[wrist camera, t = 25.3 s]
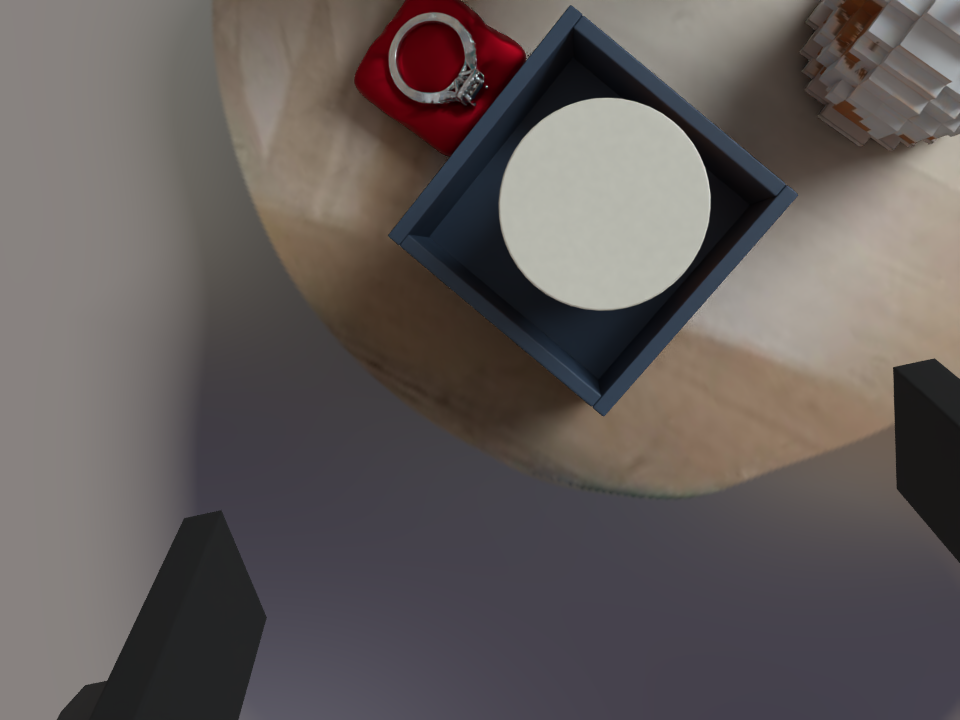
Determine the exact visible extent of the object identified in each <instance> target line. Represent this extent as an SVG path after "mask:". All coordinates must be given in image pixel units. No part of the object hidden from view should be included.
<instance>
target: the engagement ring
mask: <svg viewBox="0 0 960 720" xmlns="http://www.w3.org/2000/svg"><path fill="white" fill-rule="evenodd" d="M525 62H526V54H525V51H524V50H523V48H522V47H521V46H520V45H519V44H518V43H517V42H515V41H514V40H512V39H511V38H509V37H508V36H506V35H504V34H502V33H500V32H498V31H496V30H494V29H493V28H491V27H489V26H487V25H485V23H484V22H483V20H482V19H481V18H480V17H479V16H478V15H477V14H476V13H475V12H474V11H473V10H471V9H470V8H469V7H468V6H467V5H466V4H464V3H463V2H462V1H460V0H405V2H404V3H403V5H402V6H401V8H400V9H399V11H398V12H397V13H396V15H395V16H394V18H393V19H392V21H391V22H389V23H388V25H387V26H386V27H385V29H384V30H383V32H382V34H381V35H380V36H379V37H378V38H377V39H376V40H375V41H374V42H373V44H372V45H371V46H370V48H369V49H368V51H367V53H366V54H365V56H364V58H363V60H362V61H361V63H360V65H359V67H358V69H357V71H356V73H355V77H354V83H355V86H356V88H357V89H358V91H359V92H360V93H361V94H362V95H363V96H364V97H365V98H366V99H367V100H369V101H370V102H371V103H373V104H374V105H375V106H377V107H378V108H379V109H381V110H382V111H383V112H384V113H386V114H387V115H388V116H390V117H392V118H393V119H395V120H396V121H398V122H399V123H401V124H402V125H404V126H405V127H407V128H408V129H409V130H411V131H412V132H414V133H415V134H416V135H418V136H419V137H420V138H422V139H423V140H424V141H426V142H427V143H428V144H430V145H431V146H432V147H434V148H435V149H436V150H437V151H439V152H440V153H442V154H444V155H446V156H451V155H452V154H453V153H454V151H455V150H456V149H457V148H458V146H459V145H460V144H461V143H462V141H463V140H464V139H465V138H466V136H467V135H468V134H469V132H470V131H471V130H472V129H473V127H474V126H475V125H476V124H477V122H478V121H479V120H480V119H481V117H482V116H483V115H484V114H485V112H486V111H487V110H488V108H489V107H490V106H491V105H492V103H493V102H494V101H495V100H496V98H497V97H498V96H499V95H500V93H501V92H502V91H503V89H504V88H505V87H506V86H507V84H508V83H509V82H510V81H511V79H512V78H513V77H514V76H515V74H516V73H517V72H518V71H519V69H520V68H521V67H522V65H523V64H524V63H525Z"/></svg>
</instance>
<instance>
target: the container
mask: <svg viewBox="0 0 960 720" xmlns="http://www.w3.org/2000/svg"><path fill="white" fill-rule="evenodd" d="M709 216H710V188H709V180H708V177H707V173H706V169H705V166H704V164H703V162H702V159H701V157H700V155H699V153H698V151H697V149H696V148H695V146H694V144H693V143H692V141H691V140H690V139H689V138H688V136H687V135H686V134H685V133H684V131H683V130H682V129H681V128H680V127H679V126H677V125H676V124H675V123H674V122H673V121H672V120H671V119H669V118H668V117H666V116H665V115H664V114H662V113H660V112H659V111H657V110H655V109H653V108H651V107H649V106H646V105H643V104H641V103H638V102H635V101H630V100H625V99H618V98H594V99H589V100H583V101H579V102H576V103H573V104H570V105H567V106H565V107H563V108H561V109H559V110H557V111H555V112H553V113H551V114H550V115H548V116H547V117H545V118H544V119H542V120H541V121H540V122H539V123H538V124H536V125H535V126H534V127H533V128H532V129H531V130H530V131H529V132H528V133H527V134H526V135H525V136H524V138H523V139H522V140H521V142H520V143H519V144H518V146H517V147H516V149H515V150H514V152H513V154H512V156H511V158H510V160H509V161H508V164H507V166H506V169H505V172H504V175H503V178H502V182H501V187H500V194H499V220H500V226H501V231H502V235H503V238H504V241H505V244H506V247H507V249H508V251H509V253H510V256H511V257H512V259H513V260H514V262H515V264H516V265H517V267H518V268H519V269H520V271H521V272H522V273H523V274H524V276H525V277H526V278H527V279H528V280H529V281H530V282H531V283H532V284H533V285H534V286H535V287H537V288H538V289H539V290H541V291H542V292H544V293H545V294H546V295H548V296H550V297H552V298H554V299H555V300H557V301H559V302H562V303H564V304H567V305H570V306H573V307H577V308H581V309H587V310H596V311H605V310H617V309H623V308H628V307H631V306H635V305H638V304H641V303H643V302H645V301H647V300H650V299H652V298H653V297H655V296H657V295H658V294H660V293H662V292H663V291H665V290H666V289H667V288H668V287H670V286H671V285H672V284H674V283H675V282H676V281H677V280H678V279H679V278H680V277H681V276H682V275H683V274H684V272H685V271H686V270H687V268H688V267H689V266H690V264H691V263H692V262H693V260H694V258H695V257H696V255H697V253H698V251H699V250H700V247H701V245H702V242H703V240H704V238H705V234H706V231H707V227H708V223H709Z"/></svg>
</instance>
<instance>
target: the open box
mask: <svg viewBox="0 0 960 720" xmlns="http://www.w3.org/2000/svg"><path fill="white" fill-rule="evenodd" d="M594 98H618V99H625V100H630V101H635V102H638V103H641V104H643V105H646V106H649V107H651V108H653V109H655V110H657V111H659V112H660V113H662V114H664V115H665V116H666V117H668V118H669V119H671V120H672V121H673V122H674V123H675V124H676V125H677V126H679V127H680V128H681V129H682V130H683V131H684V133H685V134H686V135H687V136H688V138H689V139H690V140H691V141H692V143H693V144H694V146H695V148H696V149H697V151H698V153H699V155H700V157H701V159H702V162H703V164H704V166H705V169H706V173H707V177H708V180H709V188H710V216H709V223H708V227H707V231H706V234H705V238H704V240H703V242H702V245H701V247H700V250H699V251H698V253H697V255H696V257H695V258H694V260H693V262H692V263H691V264H690V266H689V267H688V268H687V270H686V271H685V272H684V274H683V275H682V276H681V277H680V278H679V279H678V280H677V281H676V282H675V283H674V284H672V285H671V286H670V287H668V288H667V289H666V290H665V291H663V292H662V293H660V294H658V295H657V296H655V297H653V298H652V299H650V300H647V301H645V302H643V303H641V304H638V305H635V306H631V307H628V308H623V309H617V310H605V311H596V310H587V309H581V308H577V307H573V306H570V305H567V304H564V303H562V302H559V301H557V300H555V299H554V298H552V297H550V296H548V295H546V294H545V293H544V292H542V291H541V290H539V289H538V288H537V287H535V286H534V285H533V284H532V283H531V282H530V281H529V280H528V279H527V278H526V277H525V276H524V274H523V273H522V272H521V271H520V269H519V268H518V267H517V265H516V264H515V262H514V260H513V259H512V257H511V256H510V253H509V251H508V249H507V247H506V244H505V241H504V238H503V235H502V231H501V226H500V220H499V194H500V187H501V182H502V178H503V175H504V172H505V169H506V166H507V164H508V161H509V160H510V158H511V156H512V154H513V152H514V150H515V149H516V147H517V146H518V144H519V143H520V142H521V140H522V139H523V138H524V136H525V135H526V134H527V133H528V132H529V131H530V130H531V129H532V128H533V127H534V126H535V125H536V124H538V123H539V122H540V121H541V120H542V119H544V118H545V117H547V116H548V115H550V114H551V113H553V112H555V111H557V110H559V109H561V108H563V107H565V106H567V105H570V104H573V103H576V102H579V101H583V100H589V99H594ZM785 185H786V184H785V183H784V182H783V181H782V180H781V179H779V178H778V177H777V176H776V175H775V174H773V173H772V172H771V171H770V170H769V169H767V168H766V167H765V166H764V165H763V164H761V163H760V162H759V161H758V160H757V159H755V158H754V157H753V156H752V155H751V154H749V153H748V152H747V151H746V150H745V149H743V148H742V147H741V146H740V145H739V144H737V143H736V142H735V141H734V140H732V139H731V138H730V137H729V136H728V135H726V134H725V133H724V132H723V131H722V130H720V129H719V128H718V127H717V126H716V125H714V124H713V123H712V122H711V121H710V120H708V119H707V118H706V117H705V116H704V115H702V114H701V113H700V112H699V111H698V110H696V109H695V108H694V107H693V106H692V105H690V104H689V103H688V102H687V101H686V100H684V99H683V98H682V97H681V96H680V95H678V94H677V93H676V92H675V91H674V90H672V89H671V88H670V87H669V86H668V85H666V84H665V83H664V82H663V81H662V80H660V79H659V78H658V77H657V76H656V75H654V74H653V73H652V72H651V71H650V70H648V69H647V68H646V67H645V66H644V65H642V64H641V63H640V62H639V61H638V60H636V59H635V58H634V57H633V56H632V55H630V54H629V53H628V52H627V51H626V50H624V49H623V48H622V47H621V46H620V45H618V44H617V43H616V42H615V41H614V40H612V39H611V38H610V37H609V36H608V35H606V34H605V33H604V32H603V31H602V30H600V29H599V28H598V27H597V26H596V25H594V24H593V23H592V22H591V21H590V20H588V19H587V18H586V17H585V16H582V14H581V13H580V12H579V11H578V10H577V9H575V8H574V7H573V6H572V5H570V6H569V7H568V9H567V10H566V11H565V12H564V14H563V15H562V16H561V17H560V19H559V20H558V21H557V23H556V24H555V25H554V26H553V28H552V29H551V30H550V31H549V33H548V34H547V35H546V36H545V38H544V39H543V40H542V41H541V43H540V44H539V45H538V47H537V48H536V49H535V50H534V52H533V53H532V54H531V55H530V57H529V58H528V59H527V60H526V62H525V63H524V64H523V65H522V67H521V68H520V69H519V71H518V72H517V73H516V74H515V76H514V77H513V78H512V79H511V81H510V82H509V83H508V84H507V86H506V87H505V88H504V89H503V91H502V92H501V93H500V95H499V96H498V97H497V98H496V100H495V101H494V102H493V103H492V105H491V106H490V107H489V108H488V110H487V111H486V112H485V114H484V115H483V116H482V117H481V119H480V120H479V121H478V122H477V124H476V125H475V126H474V127H473V129H472V130H471V131H470V132H469V134H468V135H467V136H466V138H465V139H464V140H463V141H462V143H461V144H460V145H459V146H458V148H457V149H456V150H455V151H454V153H453V154H452V155H451V156H450V158H449V159H448V160H447V162H446V163H445V164H444V165H443V167H442V168H441V169H440V170H439V172H438V173H437V174H436V175H435V177H434V178H433V179H432V180H431V182H430V183H429V184H428V186H427V187H426V188H425V189H424V191H423V192H422V193H421V194H420V196H419V197H418V198H417V199H416V201H415V202H414V203H413V204H412V206H411V207H410V208H409V210H408V211H407V212H406V213H405V215H404V216H403V217H402V218H401V220H400V221H399V222H398V223H397V225H396V226H395V227H394V228H393V230H392V231H391V232H390V234H389V235H388V236H389V237H390V238H391V239H392V240H393V241H394V242H396V243H397V244H398V245H400V246H401V247H402V248H403V249H404V250H405V251H406V252H408V253H409V254H410V255H411V256H412V257H414V258H415V259H416V260H417V261H418V262H420V263H421V264H422V265H423V266H424V267H425V268H427V269H428V270H429V271H430V272H431V273H433V274H434V275H435V276H436V277H437V278H439V279H440V280H441V281H442V282H443V283H445V284H446V285H447V286H448V287H449V288H451V289H452V290H453V291H454V292H455V293H456V294H458V295H459V296H460V297H461V298H462V299H464V300H465V301H466V302H467V303H468V304H470V305H471V306H472V307H473V308H474V309H476V310H477V311H478V312H479V313H480V314H482V315H483V316H484V317H485V318H486V319H487V320H489V321H490V322H491V323H492V324H493V325H495V326H496V327H497V328H498V329H499V330H501V331H502V332H503V333H504V334H505V335H507V336H508V337H509V338H510V339H511V340H512V341H514V342H515V343H516V344H517V345H518V346H520V347H521V348H522V349H523V350H524V351H526V352H527V353H528V354H529V355H530V356H532V357H533V358H534V359H535V360H536V361H538V362H539V363H540V364H541V365H542V366H543V367H545V368H546V369H547V370H548V371H549V372H551V373H552V374H553V375H554V376H555V377H557V378H558V379H559V380H560V381H561V382H563V383H564V384H565V385H566V386H567V387H569V388H570V389H571V390H572V391H573V392H574V393H576V394H577V395H578V396H579V397H580V398H582V399H583V400H584V401H585V402H586V403H588V404H589V405H590V406H593V408H594V409H595V410H596V411H597V412H598V413H599V414H601V415H602V416H605V415H606V414H607V413H608V412H609V410H610V409H611V408H612V407H613V406H614V405H615V404H616V402H617V401H618V400H619V399H620V398H621V397H622V396H623V394H624V393H625V392H626V391H627V390H628V389H629V388H630V386H631V385H632V384H633V383H634V382H635V381H636V380H637V378H638V377H639V376H640V375H641V374H642V373H643V372H644V371H645V369H646V368H647V367H648V366H649V365H650V364H651V363H652V361H653V360H654V359H655V358H656V357H657V356H658V355H659V353H660V352H661V351H662V350H663V349H664V348H665V347H666V345H667V344H668V343H669V342H670V341H671V340H672V339H673V337H674V336H675V335H676V334H677V333H678V332H679V331H680V330H681V328H682V327H683V326H684V325H685V324H686V323H687V322H688V320H689V319H690V318H691V317H692V316H693V315H694V314H695V312H696V311H697V310H698V309H699V308H700V307H701V306H702V304H703V303H704V302H705V301H706V300H707V299H708V298H709V297H710V295H711V294H712V293H713V292H714V291H715V290H716V289H717V287H718V286H719V285H720V284H721V283H722V282H723V281H724V279H725V278H726V277H727V276H728V275H729V274H730V273H731V271H732V270H733V269H734V268H735V267H736V266H737V265H738V263H739V262H740V261H741V260H742V259H743V258H744V257H745V256H746V254H747V253H748V252H749V251H750V250H751V249H752V248H753V246H754V245H755V244H756V243H757V242H758V241H759V240H760V238H761V237H762V236H763V235H764V234H765V233H766V232H767V230H768V229H769V228H770V227H771V226H772V225H773V224H774V222H775V221H776V220H777V219H778V218H779V217H780V216H781V215H782V213H783V212H784V211H785V210H786V209H787V208H788V207H789V205H790V204H791V203H792V202H793V201H794V200H795V199H796V197H797V196H798V194H797V193H796V192H795V191H794V190H793V189H791V188H790V187H789V186H787V185H786V186H785Z"/></svg>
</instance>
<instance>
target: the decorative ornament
mask: <svg viewBox="0 0 960 720" xmlns="http://www.w3.org/2000/svg"><path fill="white" fill-rule="evenodd" d="M805 23H806V24H808V25H809V26H810V27H812V28H813V29H815V32H814V33H813V34H812V36H811V37H810V38H809V40H808V41H807V43H806V44H805V45H804V47H803V48H802V49H801V51H800V52H799V53H800V54H801V55H803V56H804V57H806V58H807V59H808V60H810V61H809V62H808V63H807V65H806V66H805V67H804V69H803V70H802V71H801V72H803V73H804V74H806V75H807V76H808V77H810V78H811V79H812V80H811V81H810V83H809V84H808V85H807V87H806V88H805V89H804V91H805V92H807V93H808V94H810V95H811V96H813V97H814V98H815V99H817V100H818V101H820V102H821V103H823V104H824V105H825V107H824V108H823V109H822V111H821V112H820V113H819V115H818V116H817V117H818V118H820V119H821V120H823V121H824V122H825V123H827V124H828V125H830V126H831V127H832V128H834V129H835V130H837V131H838V132H840V133H841V134H842V135H844V136H845V137H847V138H848V139H849V140H851V141H852V142H854V143H855V144H857V145H858V146H859V147H861V146H863V145H865V143H866V142H867V141H868V139H869V138H870V137H871V138H872V139H874V140H875V141H876V142H878V143H879V144H881V145H882V146H883V147H885V148H886V149H888V150H889V151H891V150H894V149H895V148H896V147H897V145H898V144H899V143H900V142H902V143H903V144H905V145H906V146H908V147H912V146H914V145H915V144H916V143H917V141H920V140H923V141H925V142H926V143H928V144H930V143H933V142H934V141H935V140H936V139H937V138H939V137H942V136H945V135H949V136H950V137H952V136H955V135H958V134H960V0H821V1H820V3H819V4H818V5H817V7H816V8H815V9H814V11H813V12H812V13H811V15H810V16H809V18H808V19H807V20H806V22H805Z"/></svg>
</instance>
